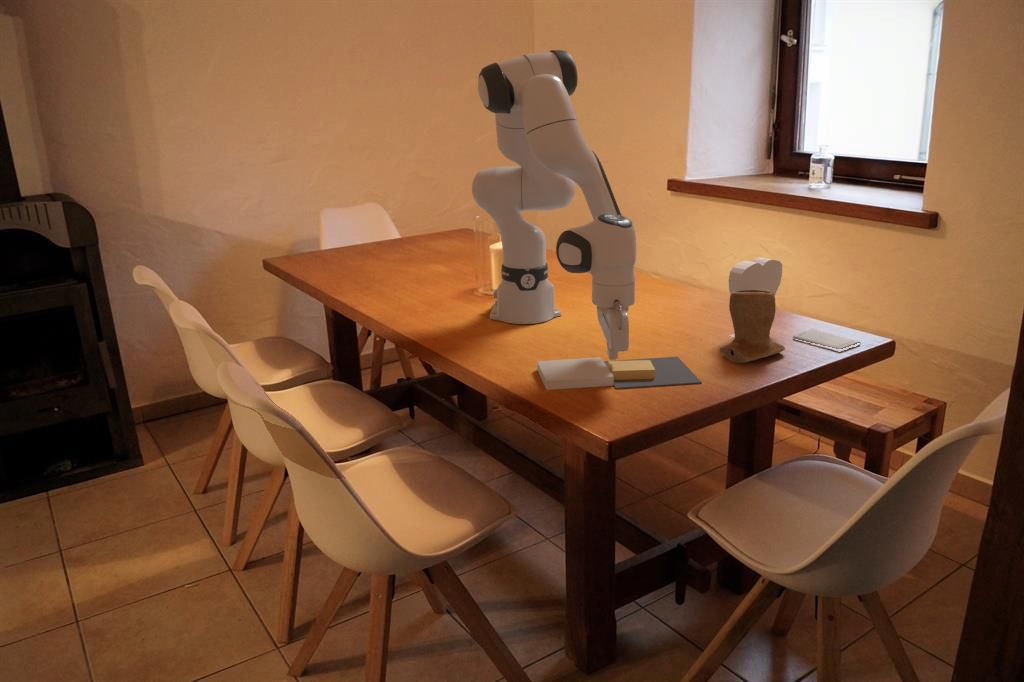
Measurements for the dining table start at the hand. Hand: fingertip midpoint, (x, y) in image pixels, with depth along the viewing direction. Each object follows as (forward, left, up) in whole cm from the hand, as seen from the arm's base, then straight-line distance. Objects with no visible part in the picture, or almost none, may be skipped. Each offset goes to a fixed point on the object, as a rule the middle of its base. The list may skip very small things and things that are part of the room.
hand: (612, 357), depth 177 cm
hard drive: (-12, +54, -5) cm, 55 cm away
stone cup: (-7, +33, -4) cm, 34 cm away
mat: (0, +8, -4) cm, 9 cm away
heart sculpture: (-22, +40, -4) cm, 46 cm away
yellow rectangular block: (+1, +4, -4) cm, 5 cm away
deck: (0, -8, -4) cm, 9 cm away
